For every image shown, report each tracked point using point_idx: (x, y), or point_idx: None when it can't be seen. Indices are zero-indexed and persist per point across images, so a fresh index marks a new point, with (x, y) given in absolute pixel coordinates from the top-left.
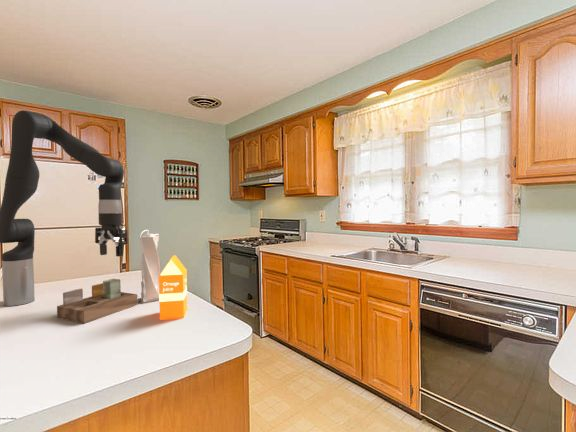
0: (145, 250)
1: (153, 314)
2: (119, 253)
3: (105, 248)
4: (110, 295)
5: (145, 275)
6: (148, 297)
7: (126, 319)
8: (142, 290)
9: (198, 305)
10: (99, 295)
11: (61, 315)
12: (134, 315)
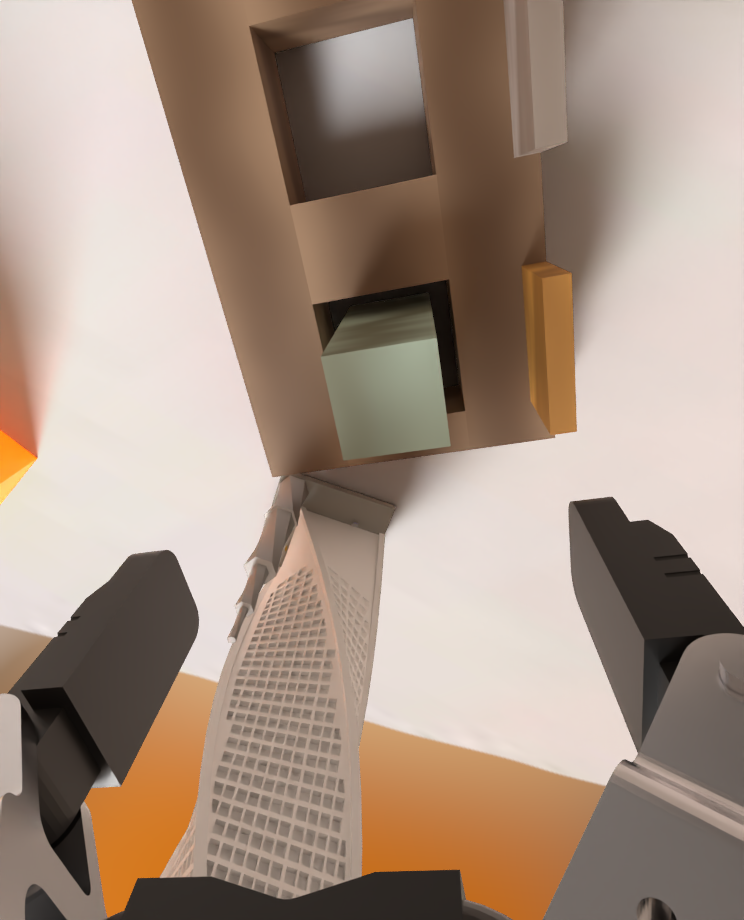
0: None
1: (25, 390)
2: (89, 600)
3: (612, 658)
4: (341, 325)
5: (305, 638)
6: (299, 530)
7: (48, 250)
8: (269, 521)
9: (4, 591)
10: (509, 310)
11: None
12: (90, 320)
